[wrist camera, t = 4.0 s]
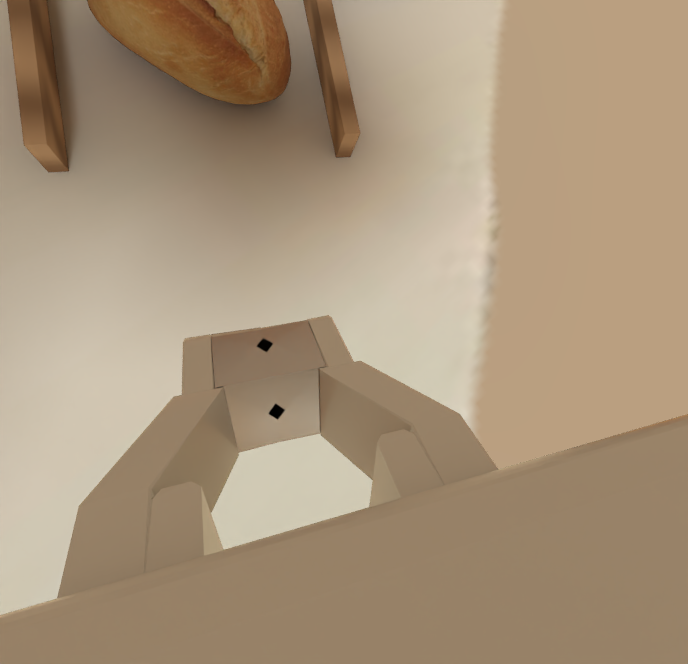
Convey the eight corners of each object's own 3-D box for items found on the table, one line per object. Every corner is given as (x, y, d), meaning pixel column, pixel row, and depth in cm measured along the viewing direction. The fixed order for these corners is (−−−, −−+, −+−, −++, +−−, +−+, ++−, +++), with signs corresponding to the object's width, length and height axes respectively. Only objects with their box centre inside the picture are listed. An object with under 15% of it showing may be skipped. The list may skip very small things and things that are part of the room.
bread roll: (251, 154, 30) (251, 72, 22) (63, 41, 28) (-7, -91, 20) (309, 67, 32) (327, -35, 25) (139, -43, 30) (102, -191, 23)
